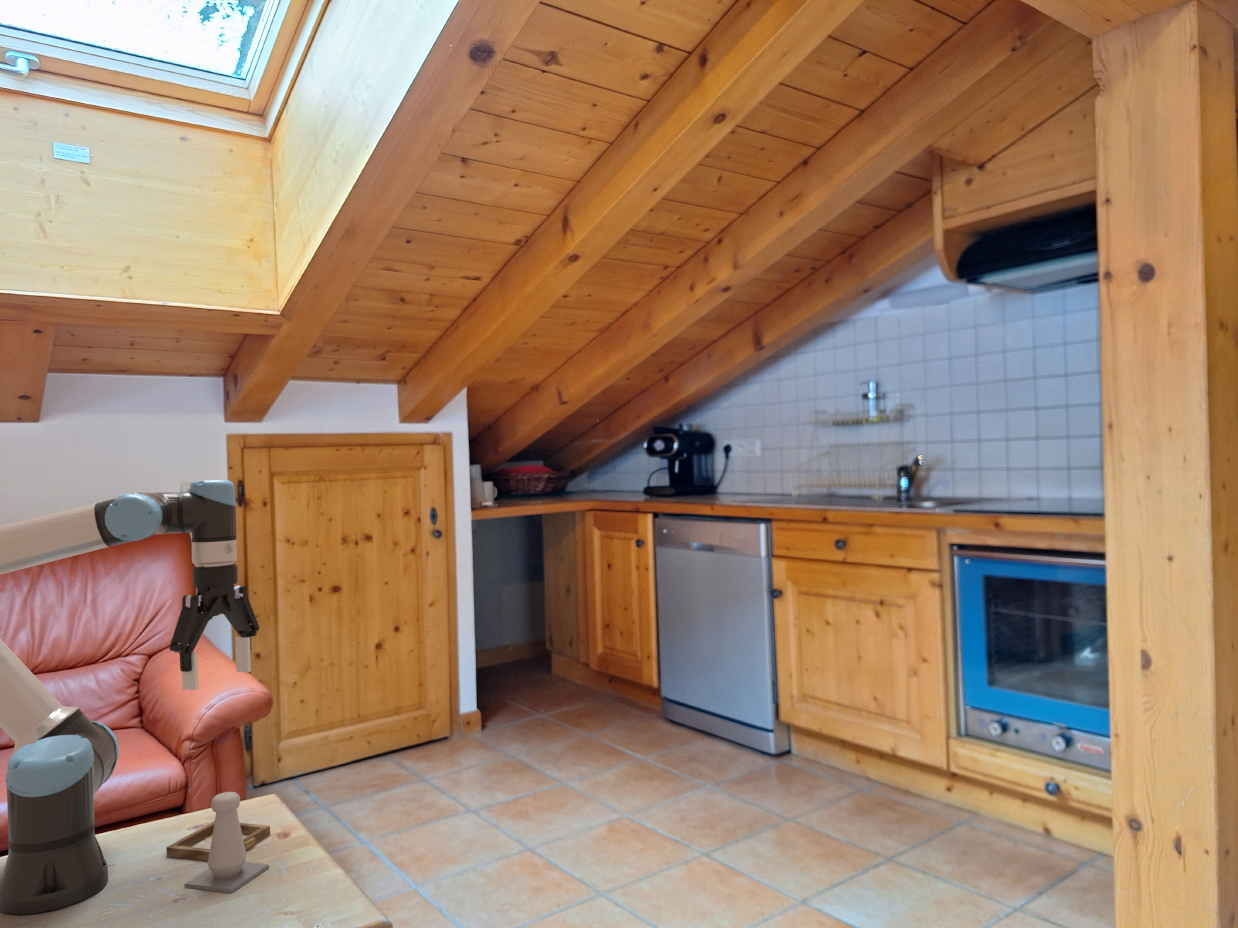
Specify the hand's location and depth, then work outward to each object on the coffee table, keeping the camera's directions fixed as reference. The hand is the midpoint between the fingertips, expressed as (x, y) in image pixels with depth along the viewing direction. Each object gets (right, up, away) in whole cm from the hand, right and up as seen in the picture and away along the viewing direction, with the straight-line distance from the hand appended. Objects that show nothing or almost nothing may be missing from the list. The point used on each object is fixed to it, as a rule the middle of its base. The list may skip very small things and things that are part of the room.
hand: (218, 680), depth 162 cm
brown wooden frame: (+2, -29, -4) cm, 29 cm away
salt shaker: (+9, -28, -17) cm, 34 cm away
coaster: (+9, -28, -17) cm, 34 cm away
